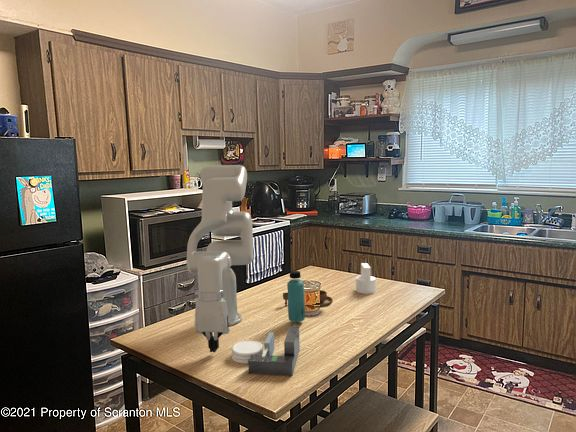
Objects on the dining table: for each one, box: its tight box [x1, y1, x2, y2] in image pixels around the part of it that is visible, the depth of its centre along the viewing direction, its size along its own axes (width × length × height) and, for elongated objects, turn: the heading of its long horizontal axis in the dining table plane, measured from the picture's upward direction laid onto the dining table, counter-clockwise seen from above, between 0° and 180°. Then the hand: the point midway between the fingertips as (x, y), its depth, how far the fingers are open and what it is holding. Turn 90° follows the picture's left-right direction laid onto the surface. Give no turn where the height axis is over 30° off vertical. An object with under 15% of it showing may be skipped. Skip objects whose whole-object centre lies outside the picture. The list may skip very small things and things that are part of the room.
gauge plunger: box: [262, 332, 275, 358], centre depth 134 cm, size 2×14×6 cm, turn 171°
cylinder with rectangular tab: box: [355, 262, 377, 295], centre depth 200 cm, size 9×9×12 cm
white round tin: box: [231, 340, 264, 365], centre depth 138 cm, size 10×10×4 cm
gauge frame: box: [247, 325, 301, 377], centre depth 134 cm, size 13×17×8 cm
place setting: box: [282, 289, 333, 308], centre depth 187 cm, size 18×20×6 cm
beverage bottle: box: [286, 270, 306, 323], centre depth 164 cm, size 6×7×20 cm
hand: (213, 350), depth 139 cm, fingers closed
